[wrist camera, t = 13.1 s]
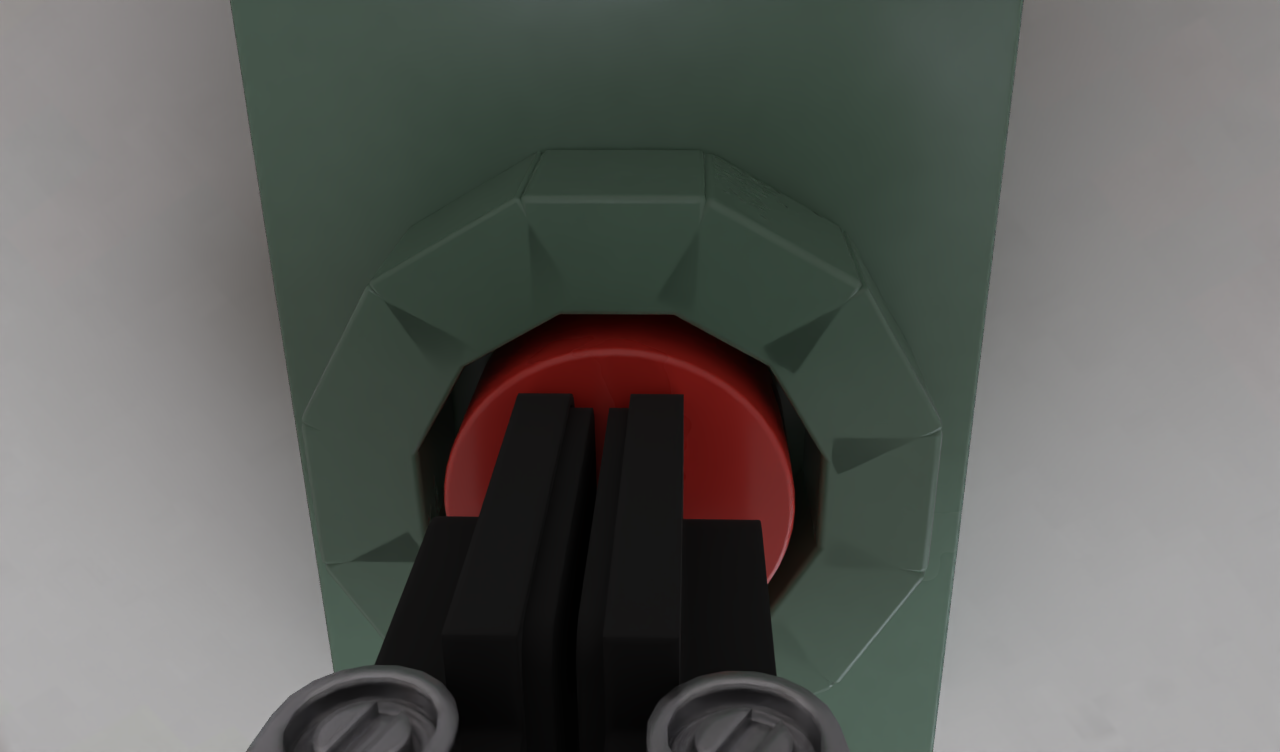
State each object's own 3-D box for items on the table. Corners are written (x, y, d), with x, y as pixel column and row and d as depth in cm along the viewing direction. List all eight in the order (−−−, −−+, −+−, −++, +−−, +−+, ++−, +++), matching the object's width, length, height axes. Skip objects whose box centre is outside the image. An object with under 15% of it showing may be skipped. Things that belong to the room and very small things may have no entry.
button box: (280, -136, 13) (123, -126, 10) (988, -146, 13) (1102, -139, 9) (389, 695, 18) (313, 905, 15) (901, 705, 18) (952, 924, 14)
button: (461, 284, 13) (427, 347, 11) (790, 285, 13) (804, 350, 11) (482, 561, 14) (457, 651, 13) (778, 565, 14) (788, 657, 12)
